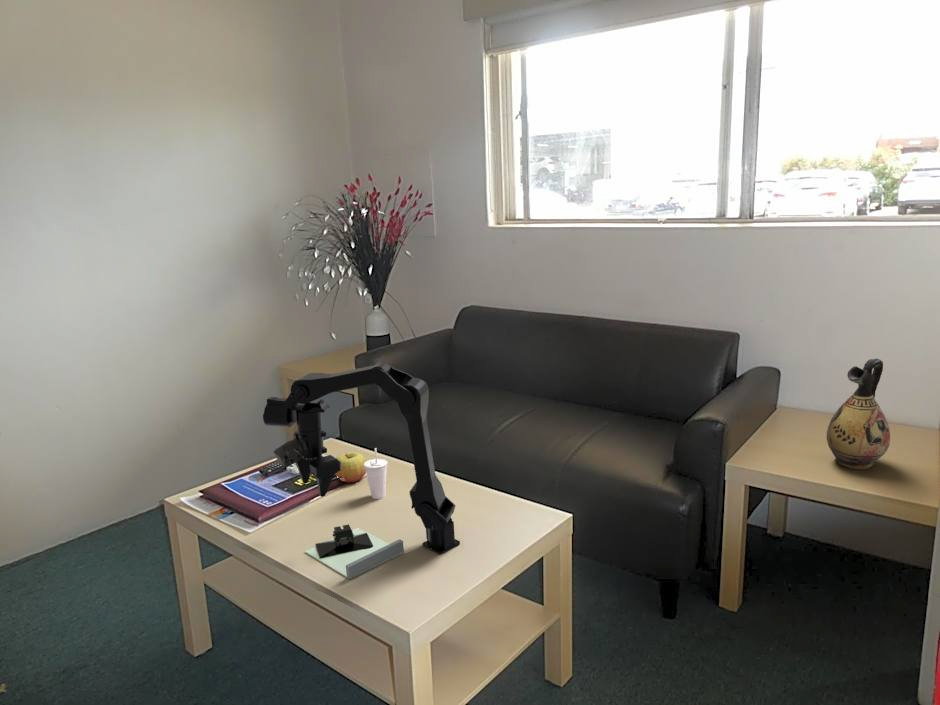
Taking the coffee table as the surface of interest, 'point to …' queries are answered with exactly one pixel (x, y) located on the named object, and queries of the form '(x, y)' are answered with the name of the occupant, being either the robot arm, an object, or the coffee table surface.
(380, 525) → the coffee table surface
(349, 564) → the base plate
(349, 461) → the apple
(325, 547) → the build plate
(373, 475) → the smoothie
